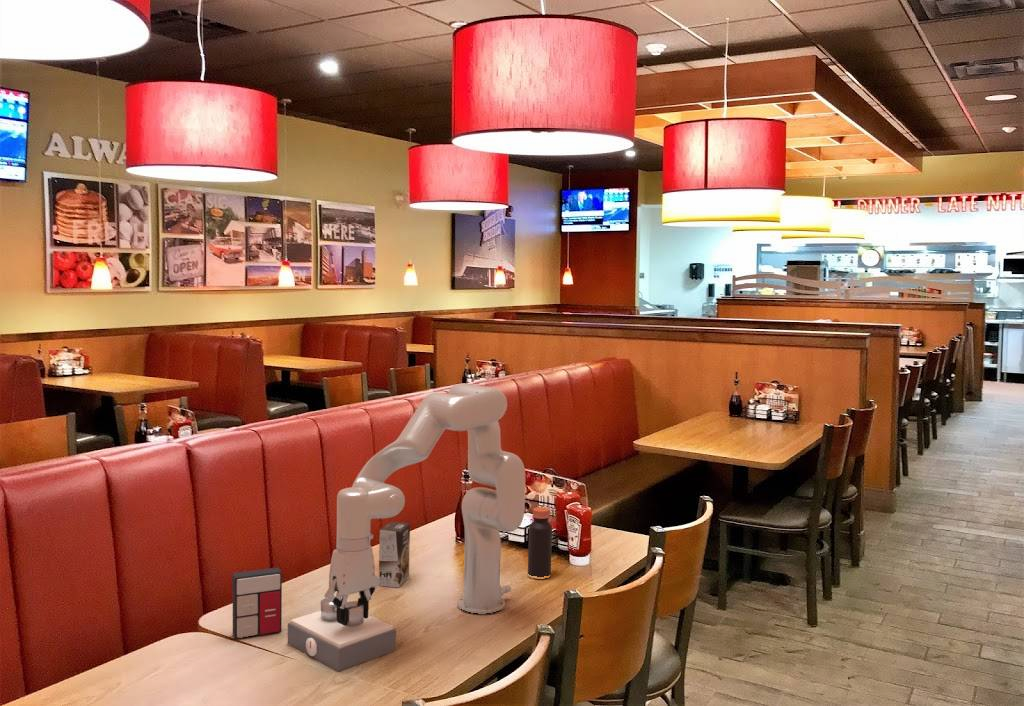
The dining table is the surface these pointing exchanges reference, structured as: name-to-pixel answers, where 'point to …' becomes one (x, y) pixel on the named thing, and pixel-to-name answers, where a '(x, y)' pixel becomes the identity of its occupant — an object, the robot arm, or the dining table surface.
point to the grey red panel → (257, 602)
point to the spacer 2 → (355, 613)
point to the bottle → (540, 543)
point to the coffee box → (394, 554)
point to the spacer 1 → (328, 611)
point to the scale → (341, 640)
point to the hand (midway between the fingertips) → (352, 619)
